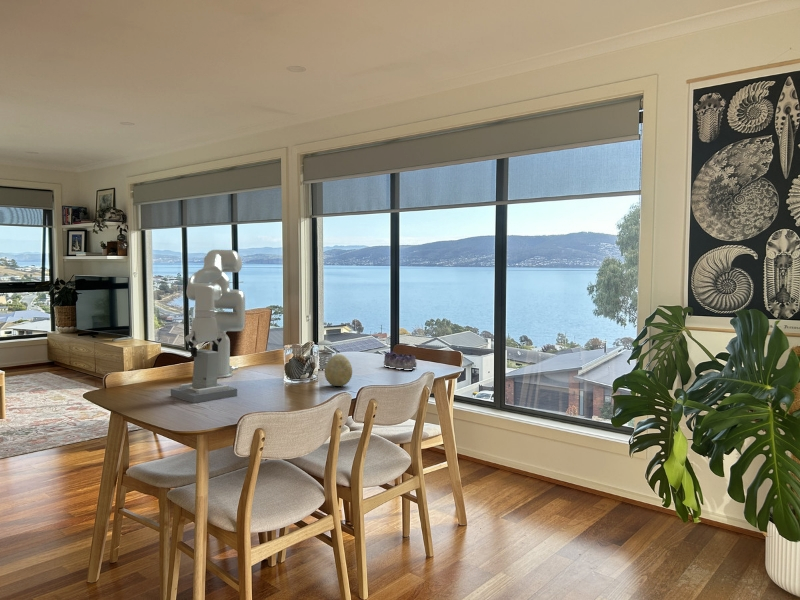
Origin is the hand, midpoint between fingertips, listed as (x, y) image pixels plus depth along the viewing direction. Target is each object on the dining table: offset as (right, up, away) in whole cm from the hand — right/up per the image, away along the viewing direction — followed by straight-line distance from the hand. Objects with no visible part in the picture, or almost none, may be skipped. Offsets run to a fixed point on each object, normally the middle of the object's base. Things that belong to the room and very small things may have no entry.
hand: (204, 355), depth 258 cm
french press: (+42, -14, +74) cm, 86 cm away
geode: (+81, -15, +80) cm, 115 cm away
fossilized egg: (+53, -17, +27) cm, 62 cm away
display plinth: (0, -17, +1) cm, 17 cm away
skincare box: (0, -14, +1) cm, 14 cm away
